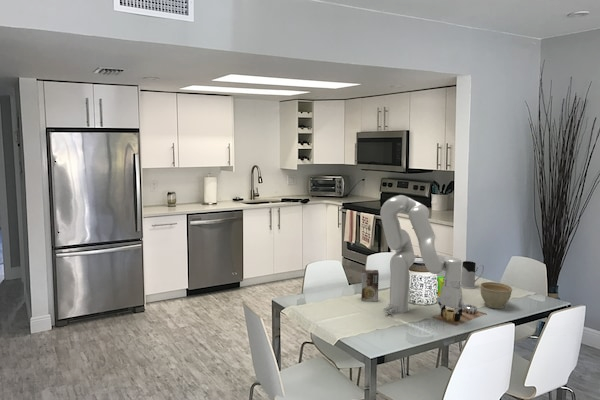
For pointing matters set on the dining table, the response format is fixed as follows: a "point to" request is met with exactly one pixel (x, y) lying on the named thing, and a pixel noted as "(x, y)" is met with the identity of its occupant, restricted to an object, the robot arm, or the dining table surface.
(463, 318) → the gear board
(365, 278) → the coffee box
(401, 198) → the robot arm
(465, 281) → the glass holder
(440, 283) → the puzzle toy
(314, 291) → the dining table surface
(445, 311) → the brass gear
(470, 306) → the steel gear
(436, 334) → the dining table surface
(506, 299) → the planter bowl
